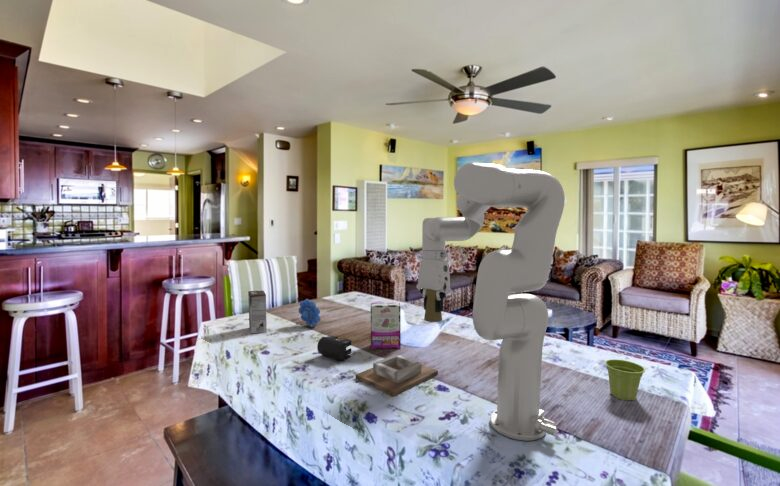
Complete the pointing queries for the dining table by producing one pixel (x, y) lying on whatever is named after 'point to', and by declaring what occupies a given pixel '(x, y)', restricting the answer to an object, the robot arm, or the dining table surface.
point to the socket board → (396, 374)
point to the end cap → (334, 347)
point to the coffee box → (257, 311)
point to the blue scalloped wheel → (309, 312)
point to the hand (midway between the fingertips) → (433, 309)
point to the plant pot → (624, 378)
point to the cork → (431, 307)
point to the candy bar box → (385, 326)
